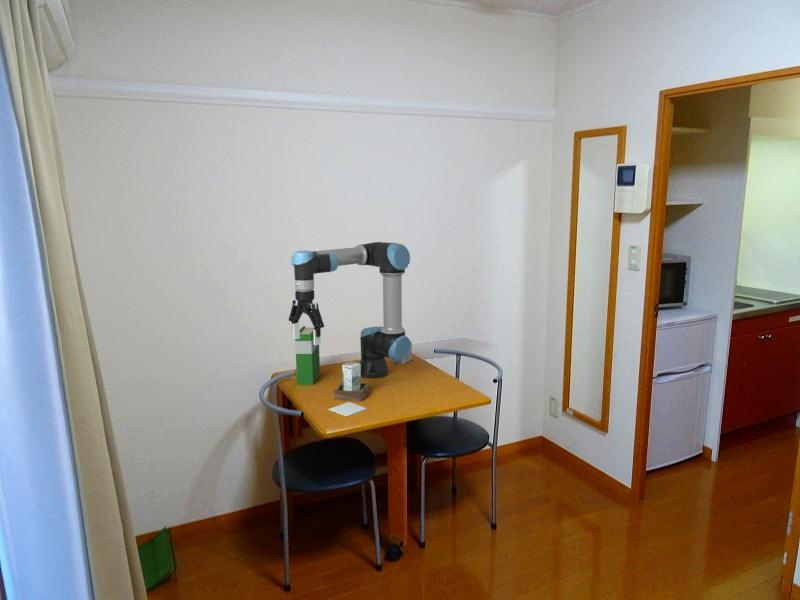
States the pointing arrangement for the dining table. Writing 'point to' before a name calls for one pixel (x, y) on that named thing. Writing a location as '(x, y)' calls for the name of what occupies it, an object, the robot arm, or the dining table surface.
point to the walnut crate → (351, 393)
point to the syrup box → (351, 376)
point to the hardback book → (307, 357)
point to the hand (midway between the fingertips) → (306, 341)
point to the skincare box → (406, 358)
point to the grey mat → (347, 409)
